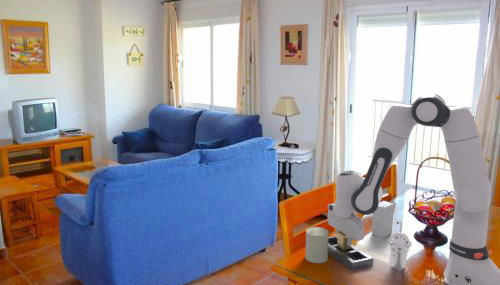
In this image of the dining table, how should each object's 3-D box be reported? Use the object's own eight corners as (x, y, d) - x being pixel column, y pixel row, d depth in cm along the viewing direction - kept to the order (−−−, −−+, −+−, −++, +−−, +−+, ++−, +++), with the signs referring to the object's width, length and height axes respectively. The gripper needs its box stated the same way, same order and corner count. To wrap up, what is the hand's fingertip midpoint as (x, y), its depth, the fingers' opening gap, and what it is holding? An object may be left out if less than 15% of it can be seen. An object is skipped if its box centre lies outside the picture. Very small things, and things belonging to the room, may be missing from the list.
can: (301, 255, 178) (301, 227, 176) (320, 251, 182) (321, 224, 179) (311, 264, 170) (312, 236, 168) (332, 261, 173) (333, 232, 171)
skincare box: (381, 230, 205) (383, 200, 202) (392, 234, 200) (394, 203, 197) (371, 234, 200) (372, 203, 197) (382, 238, 195) (384, 207, 192)
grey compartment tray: (372, 265, 170) (373, 258, 169) (351, 270, 166) (352, 262, 165) (337, 242, 191) (337, 235, 191) (317, 245, 187) (318, 239, 187)
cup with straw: (414, 268, 167) (418, 219, 163) (398, 274, 163) (401, 223, 159) (397, 259, 174) (400, 212, 170) (381, 265, 170) (384, 216, 166)
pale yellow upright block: (351, 248, 177) (351, 234, 176) (343, 250, 175) (343, 236, 174) (345, 244, 181) (345, 231, 179) (337, 246, 179) (337, 232, 178)
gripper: (368, 217, 167) (366, 251, 169) (337, 201, 185) (336, 232, 188) (355, 220, 164) (353, 254, 167) (325, 203, 183) (324, 234, 185)
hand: (344, 242), depth 178 cm, fingers closed on pale yellow upright block, 4 cm apart
